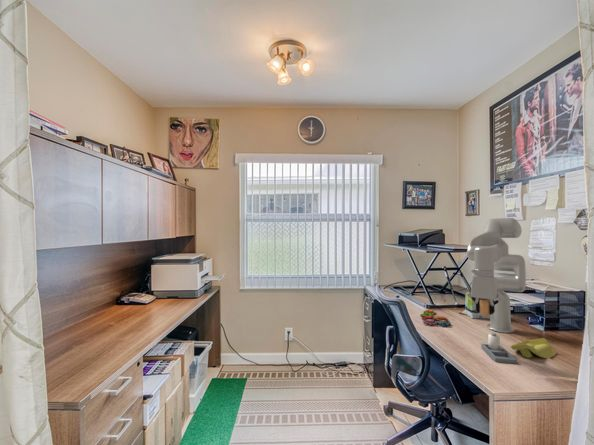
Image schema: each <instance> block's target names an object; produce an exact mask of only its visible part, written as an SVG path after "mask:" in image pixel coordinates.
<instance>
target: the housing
mask: <svg viewBox="0 0 594 445" xmlns="http://www.w3.org/2000/svg"><path fill="white" fill-rule="evenodd" d="M480 348H481V349H482V350H483V351H484V353H485V354H486V355H487V356H488V358H490V359H491V360H492V361H493V362H496V363H497V362H498V363H506V364H518V359H517V358H515V357H514V356H513V354H511V353H510V352H509V351H508V350H507V349H506V348H504V347H503V346H502V344H500V351H499V350H489V348H488V343H480Z"/></svg>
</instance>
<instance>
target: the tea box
mask: <svg viewBox="0 0 594 445" xmlns="http://www.w3.org/2000/svg"><path fill="white" fill-rule="evenodd" d="M469 292H470V291H468V292H467V291H466V292H465V294H464V296H465V298H464V299H465V302H464V304H465V306H464V307H465V308H464V309H465V310H464V311H465V313H466V314H467V315H466V314H465V313H464V314H465V315H466V316H468V317H469V318H471V319H485V320H486V319H487V320H488V319H489V320H490V316H483V315H480V312H479V313H478V312H477V310H476V303H475V302H474V301H473V300H472V299H471V298H470V297H469V296H468V294H469ZM475 298H476V297H475ZM480 299H482V298H480Z"/></svg>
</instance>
